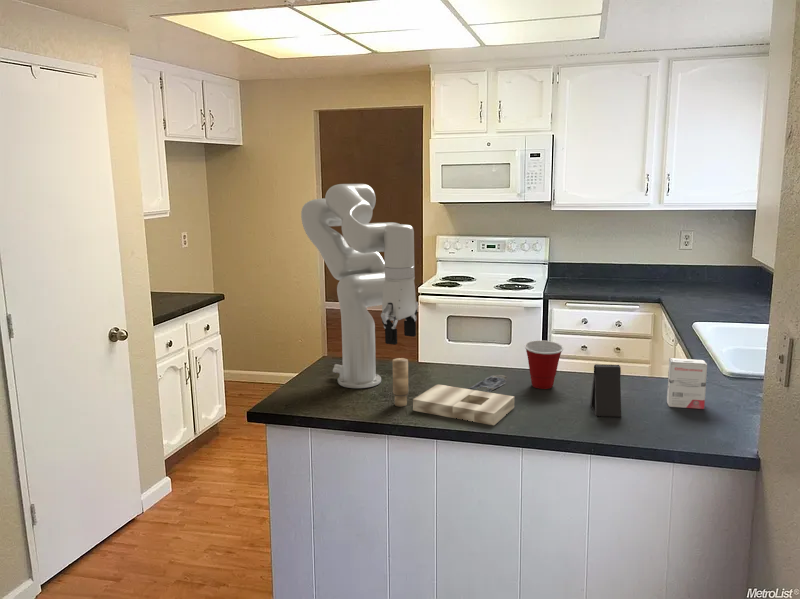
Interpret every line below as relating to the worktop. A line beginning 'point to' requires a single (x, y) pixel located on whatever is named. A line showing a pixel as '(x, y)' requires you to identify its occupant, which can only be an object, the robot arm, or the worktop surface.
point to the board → (464, 404)
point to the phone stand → (606, 391)
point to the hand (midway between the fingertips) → (400, 339)
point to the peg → (400, 381)
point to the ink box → (686, 383)
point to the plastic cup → (543, 362)
